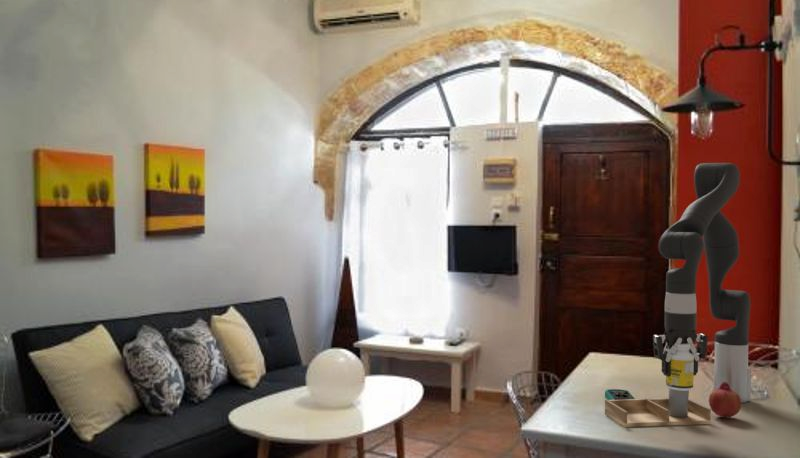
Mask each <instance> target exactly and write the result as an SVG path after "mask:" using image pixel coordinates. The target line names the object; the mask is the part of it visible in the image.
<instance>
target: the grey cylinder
mask: <svg viewBox="0 0 800 458" xmlns="http://www.w3.org/2000/svg"><path fill="white" fill-rule="evenodd" d="M689 392H690V390H687V391H681V390H674V389H670V388H668V398H669V402H668V410H669V415H670V416H673V417H678V418H686V417H688V399H690V398H689V397H690V395H689V394H690V393H689Z"/></svg>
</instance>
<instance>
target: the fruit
mask: <svg viewBox="0 0 800 458" xmlns="http://www.w3.org/2000/svg"><path fill="white" fill-rule="evenodd" d="M708 397H709V398H708V403H709V407H710V409H711V412H713V413H714V414H715V415H716V416H718V417H721V418H723V419H727V418H730V417H731V418H732V417H734V416H736V415H737V414H738V413H739V412H740V410H741V407H742V403H741V399H740V397H739V395H738V394H737V393H736V392H735V391H733V390H731V389H730V386H729V384H728V383H727V382H723V383H722V384H721V385H720V387H719V388H718V389H716V390H714V389H713V390H712V391H711V393H710V394H709V396H708Z"/></svg>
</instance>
